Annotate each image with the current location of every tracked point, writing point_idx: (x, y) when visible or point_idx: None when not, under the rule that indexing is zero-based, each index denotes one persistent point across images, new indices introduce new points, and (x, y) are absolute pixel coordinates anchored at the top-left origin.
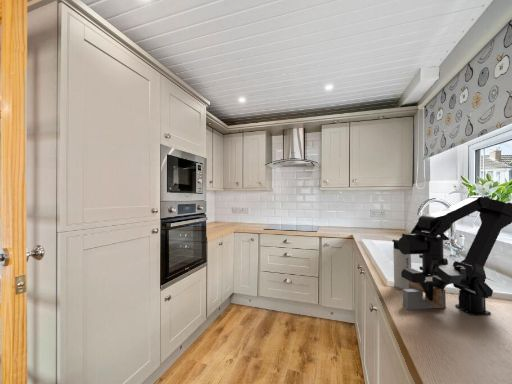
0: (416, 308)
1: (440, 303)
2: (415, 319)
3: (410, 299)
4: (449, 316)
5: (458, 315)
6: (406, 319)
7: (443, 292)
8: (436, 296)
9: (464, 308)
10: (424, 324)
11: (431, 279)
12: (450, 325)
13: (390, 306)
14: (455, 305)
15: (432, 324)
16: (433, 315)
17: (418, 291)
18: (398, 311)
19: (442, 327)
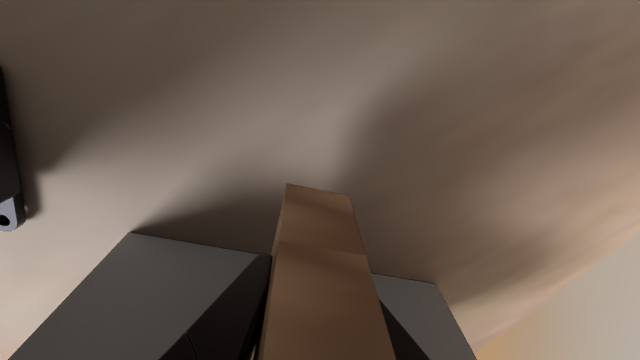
0: (375, 276)
1: (300, 209)
2: (539, 180)
3: (446, 345)
4: (244, 127)
5: (148, 113)
6: (592, 199)
7: (51, 347)
8: (363, 276)
9: (2, 143)
10: (566, 109)
11: None
12: (398, 19)
13: (489, 336)
14: (20, 224)
15: (514, 87)
16: (353, 179)
17: None
18: (516, 284)
19: (497, 22)
